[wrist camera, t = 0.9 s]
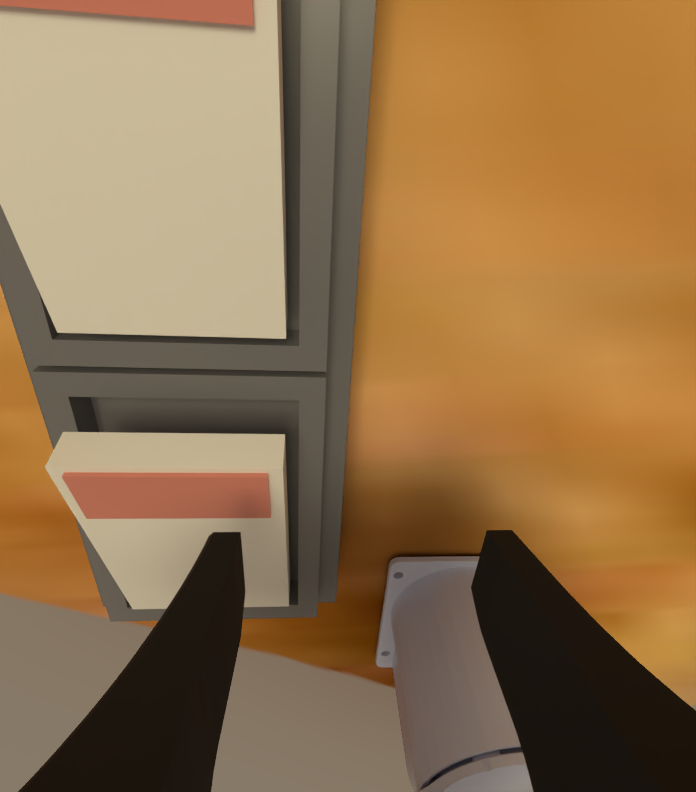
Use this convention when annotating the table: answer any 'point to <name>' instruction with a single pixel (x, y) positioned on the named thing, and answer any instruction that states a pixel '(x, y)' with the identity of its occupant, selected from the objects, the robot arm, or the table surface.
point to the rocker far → (178, 506)
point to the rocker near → (147, 163)
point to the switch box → (246, 357)
